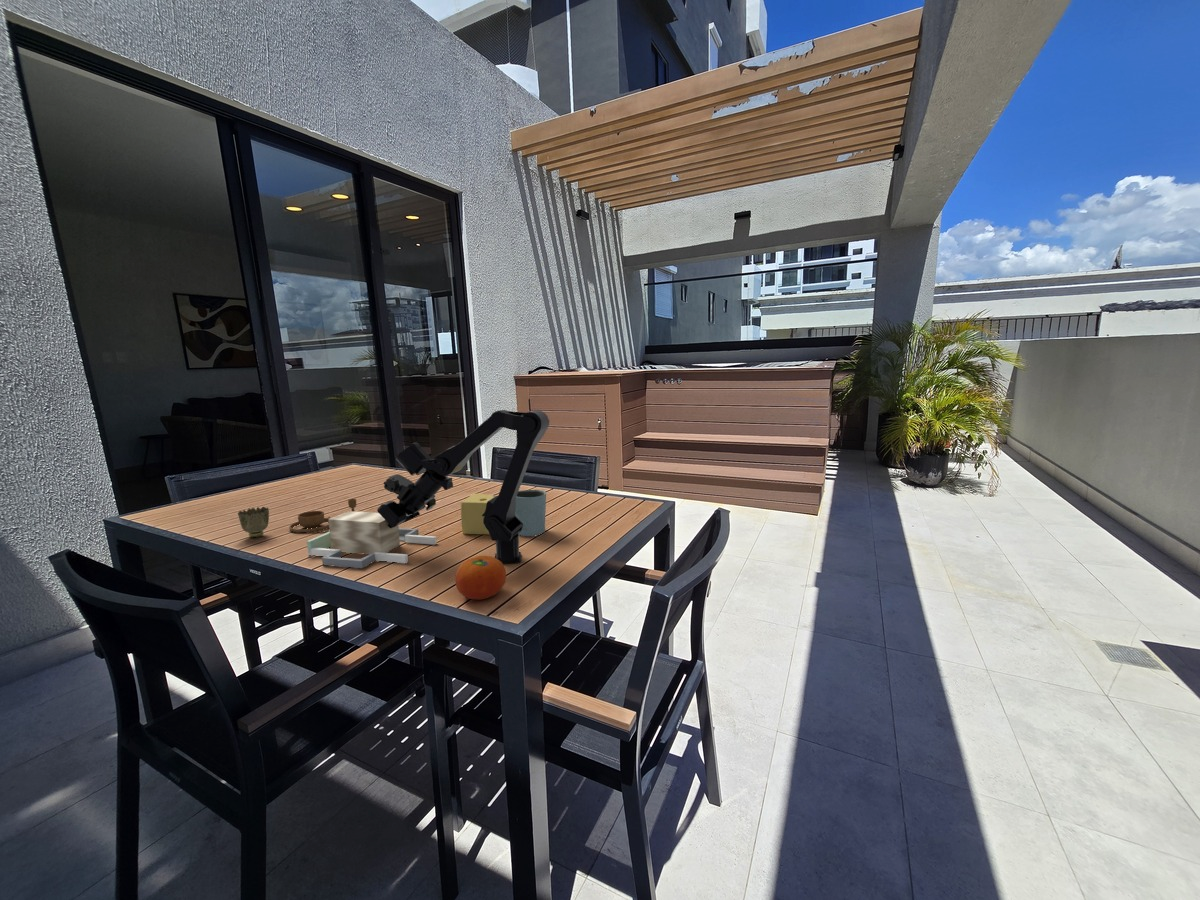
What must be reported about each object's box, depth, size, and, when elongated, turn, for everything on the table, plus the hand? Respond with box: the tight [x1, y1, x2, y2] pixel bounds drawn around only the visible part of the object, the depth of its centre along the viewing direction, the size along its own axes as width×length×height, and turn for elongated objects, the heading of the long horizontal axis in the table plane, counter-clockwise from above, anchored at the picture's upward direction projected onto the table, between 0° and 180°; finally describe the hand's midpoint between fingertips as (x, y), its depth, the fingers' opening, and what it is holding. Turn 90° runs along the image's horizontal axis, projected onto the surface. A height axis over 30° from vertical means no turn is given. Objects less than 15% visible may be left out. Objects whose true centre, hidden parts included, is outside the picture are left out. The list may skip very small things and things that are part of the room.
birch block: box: [328, 510, 401, 554], centre depth 132 cm, size 15×8×9 cm, turn 79°
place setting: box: [288, 498, 357, 534], centre depth 153 cm, size 18×20×6 cm
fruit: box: [454, 555, 507, 600], centre depth 104 cm, size 11×10×8 cm
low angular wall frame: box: [306, 527, 437, 569], centre depth 131 cm, size 28×25×4 cm
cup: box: [237, 506, 270, 539], centre depth 142 cm, size 8×7×8 cm
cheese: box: [460, 493, 497, 535], centre depth 148 cm, size 10×11×10 cm
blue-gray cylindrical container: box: [515, 489, 547, 537], centre depth 145 cm, size 10×10×12 cm
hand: (389, 526), depth 130 cm, fingers closed
